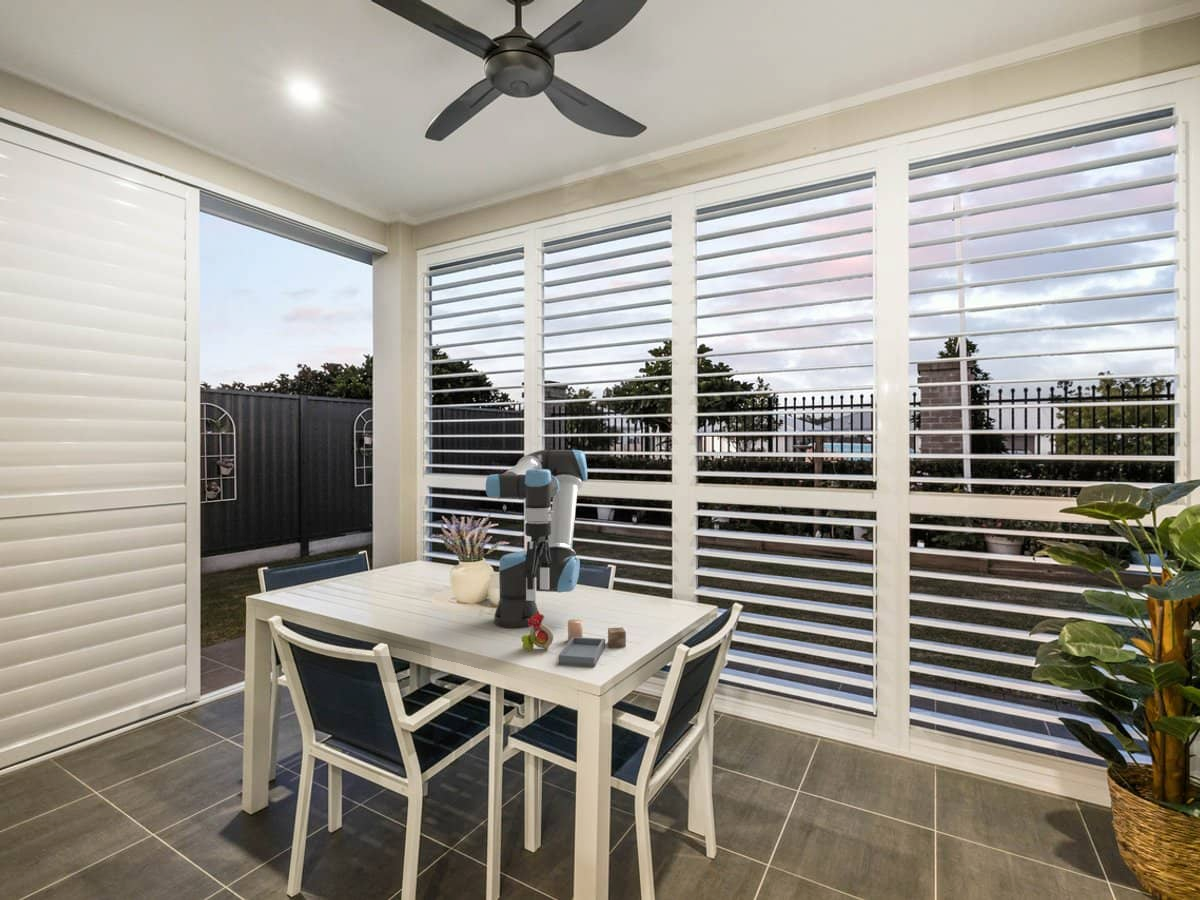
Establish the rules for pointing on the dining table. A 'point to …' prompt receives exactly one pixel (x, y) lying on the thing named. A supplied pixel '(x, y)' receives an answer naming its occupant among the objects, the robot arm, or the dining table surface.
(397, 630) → the dining table surface
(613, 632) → the walnut cube
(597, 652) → the tray
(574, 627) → the peach round-ended cylinder
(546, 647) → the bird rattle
